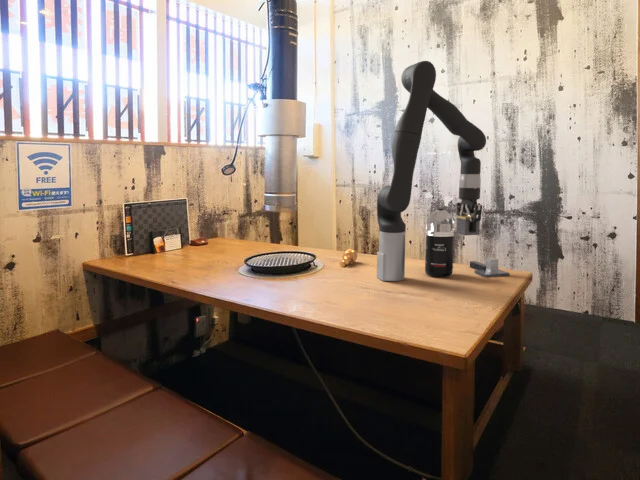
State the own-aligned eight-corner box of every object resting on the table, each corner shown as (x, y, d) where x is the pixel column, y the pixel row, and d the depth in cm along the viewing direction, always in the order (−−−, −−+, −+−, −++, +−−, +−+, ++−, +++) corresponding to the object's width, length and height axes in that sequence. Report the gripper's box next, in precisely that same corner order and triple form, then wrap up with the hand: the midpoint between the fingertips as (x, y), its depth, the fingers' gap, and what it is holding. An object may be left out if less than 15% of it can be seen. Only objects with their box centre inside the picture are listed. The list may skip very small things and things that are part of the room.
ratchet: (484, 277, 161) (485, 261, 161) (461, 267, 177) (461, 252, 176) (509, 275, 164) (510, 259, 163) (483, 266, 180) (484, 251, 179)
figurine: (333, 265, 182) (340, 254, 192) (343, 275, 182) (350, 264, 192) (346, 252, 178) (353, 242, 189) (357, 262, 178) (363, 251, 189)
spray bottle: (454, 278, 160) (457, 209, 156) (424, 277, 162) (426, 208, 158) (451, 272, 170) (454, 206, 166) (423, 271, 172) (425, 206, 168)
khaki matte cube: (464, 235, 165) (465, 217, 164) (456, 233, 171) (457, 215, 170) (479, 234, 166) (480, 216, 165) (470, 232, 172) (471, 215, 171)
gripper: (450, 186, 172) (449, 229, 174) (471, 187, 158) (469, 234, 161) (468, 185, 174) (466, 228, 176) (490, 187, 160) (487, 233, 162)
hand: (467, 230), depth 168 cm, fingers closed on khaki matte cube, 6 cm apart
